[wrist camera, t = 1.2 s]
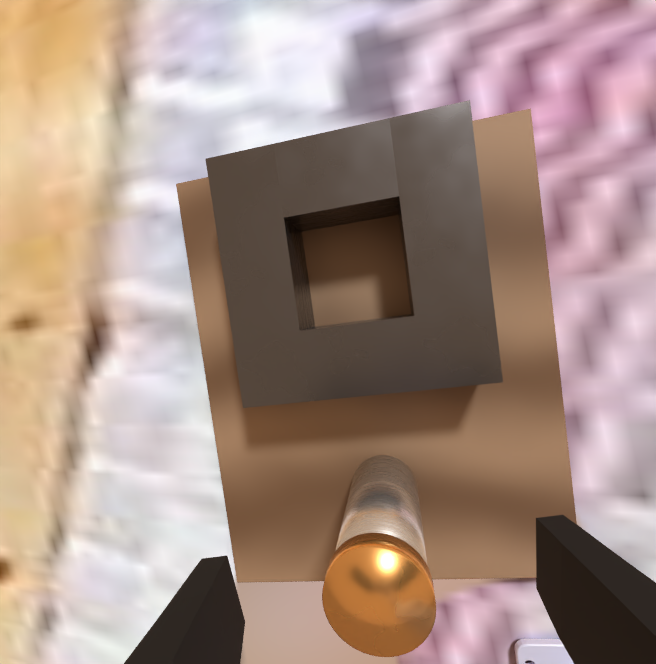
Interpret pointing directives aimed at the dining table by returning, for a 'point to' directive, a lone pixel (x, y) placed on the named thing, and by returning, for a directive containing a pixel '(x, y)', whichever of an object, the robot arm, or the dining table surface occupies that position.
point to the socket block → (349, 207)
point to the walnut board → (398, 395)
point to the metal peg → (381, 564)
